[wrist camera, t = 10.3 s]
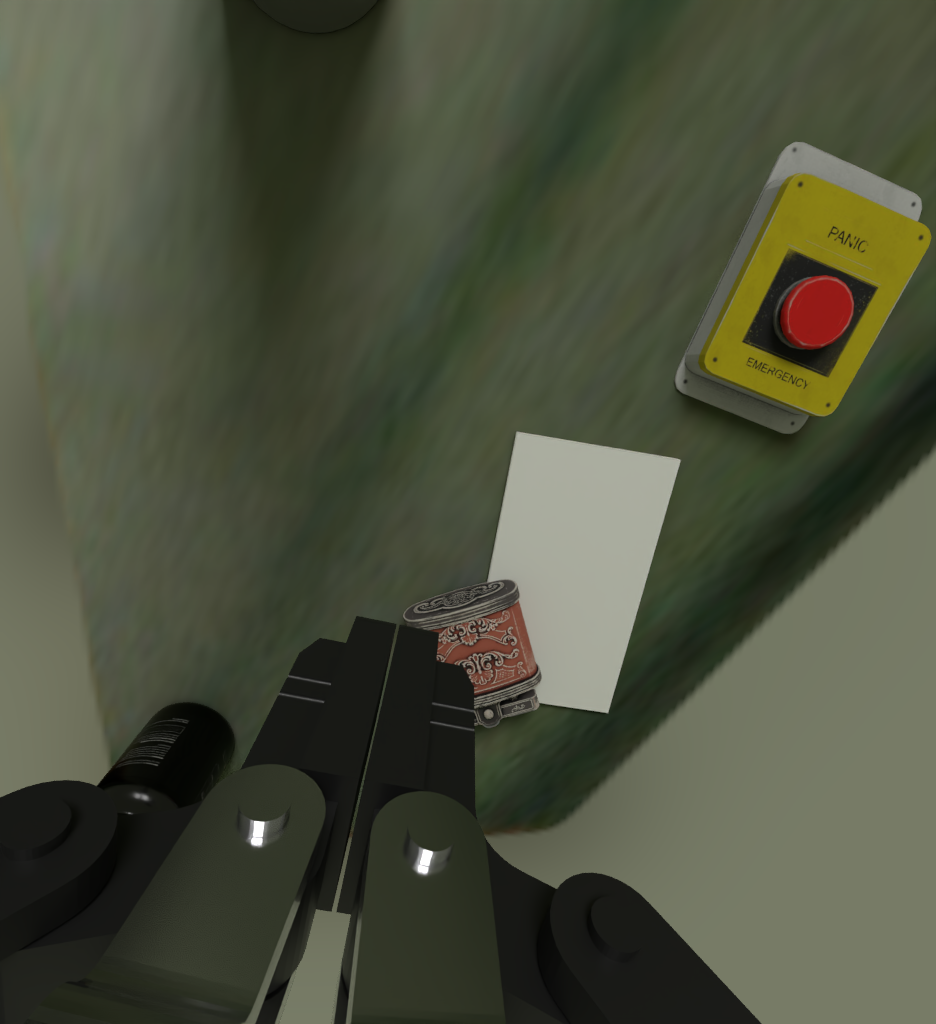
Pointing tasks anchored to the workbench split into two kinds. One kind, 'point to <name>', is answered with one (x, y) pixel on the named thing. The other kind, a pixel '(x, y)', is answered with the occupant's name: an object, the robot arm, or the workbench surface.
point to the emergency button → (804, 291)
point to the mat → (579, 556)
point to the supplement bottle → (171, 761)
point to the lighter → (485, 646)
